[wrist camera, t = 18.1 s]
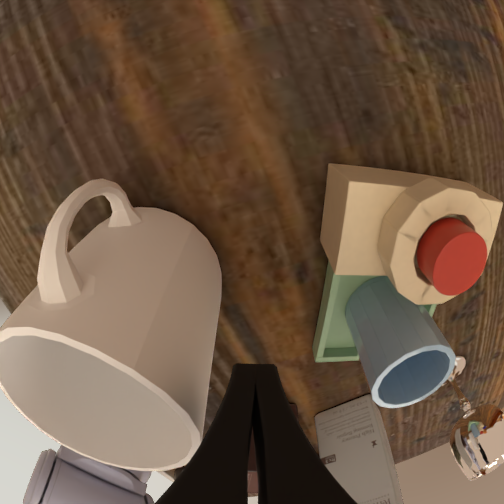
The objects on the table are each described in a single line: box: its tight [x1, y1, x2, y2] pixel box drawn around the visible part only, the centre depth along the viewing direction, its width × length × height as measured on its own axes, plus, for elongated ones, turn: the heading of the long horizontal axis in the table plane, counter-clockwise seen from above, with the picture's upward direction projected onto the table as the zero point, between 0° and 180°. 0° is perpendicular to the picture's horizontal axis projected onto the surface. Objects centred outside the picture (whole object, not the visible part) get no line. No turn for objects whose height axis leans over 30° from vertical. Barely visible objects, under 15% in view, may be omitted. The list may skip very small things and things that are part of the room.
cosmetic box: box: [315, 394, 404, 504], centre depth 22 cm, size 6×4×12 cm
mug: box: [0, 179, 222, 471], centre depth 14 cm, size 10×12×12 cm
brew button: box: [417, 217, 487, 296], centre depth 12 cm, size 3×3×2 cm
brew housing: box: [320, 163, 503, 305], centre depth 15 cm, size 6×10×6 cm, turn 88°
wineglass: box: [441, 356, 504, 481], centre depth 20 cm, size 6×6×12 cm
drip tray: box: [312, 260, 437, 362], centre depth 21 cm, size 8×8×2 cm
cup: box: [345, 276, 456, 408], centre depth 18 cm, size 5×5×7 cm
